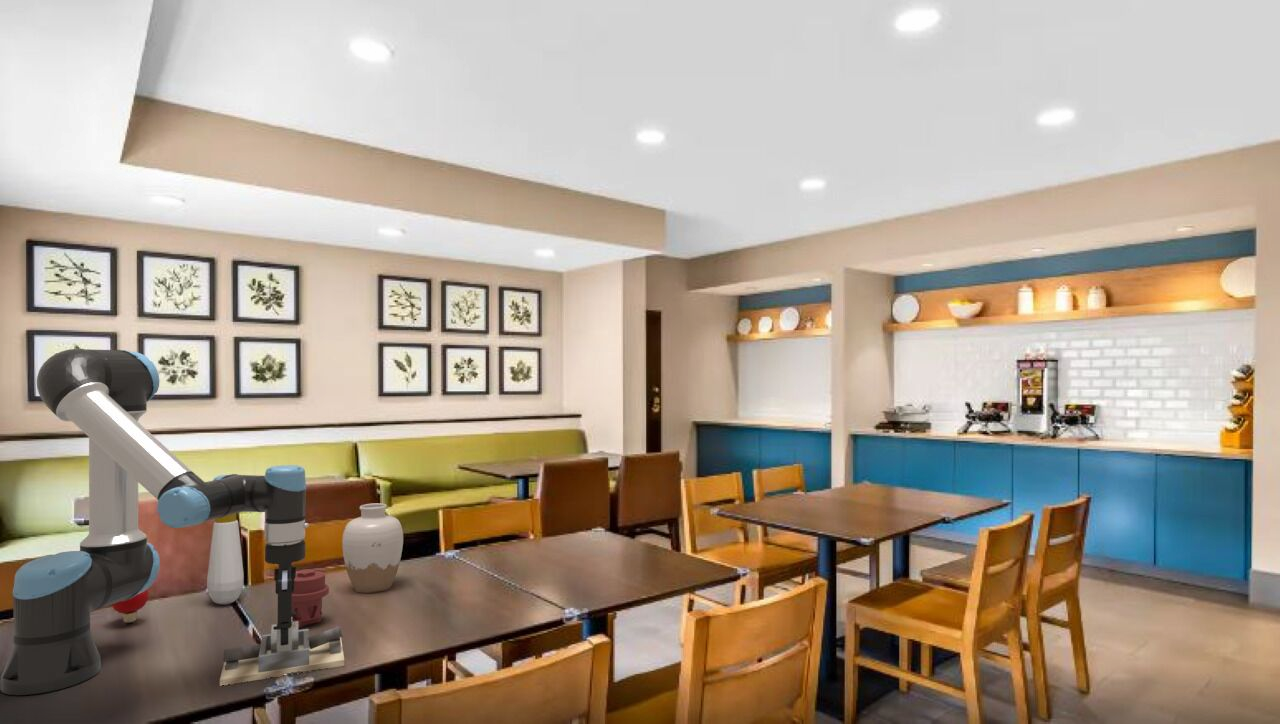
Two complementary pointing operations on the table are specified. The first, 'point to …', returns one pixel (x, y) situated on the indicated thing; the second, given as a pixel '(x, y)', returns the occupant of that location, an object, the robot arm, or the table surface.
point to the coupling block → (294, 637)
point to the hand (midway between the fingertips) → (284, 654)
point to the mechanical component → (308, 596)
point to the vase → (372, 549)
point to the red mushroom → (131, 606)
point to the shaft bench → (283, 657)
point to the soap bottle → (225, 561)
